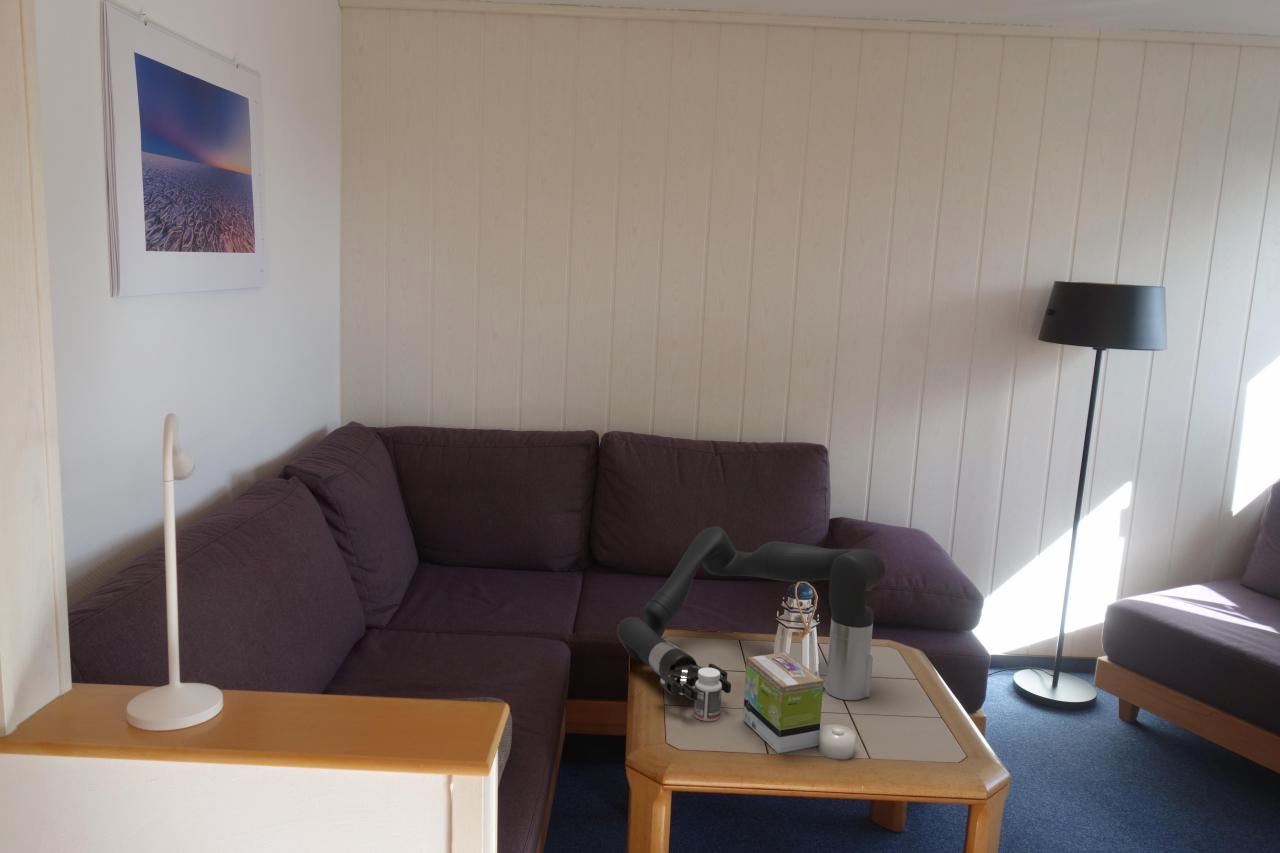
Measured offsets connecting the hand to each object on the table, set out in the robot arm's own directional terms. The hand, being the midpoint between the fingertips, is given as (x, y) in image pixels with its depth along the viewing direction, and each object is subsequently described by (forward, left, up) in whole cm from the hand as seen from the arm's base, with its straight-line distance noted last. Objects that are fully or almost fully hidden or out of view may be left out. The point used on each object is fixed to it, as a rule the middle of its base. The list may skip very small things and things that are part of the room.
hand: (712, 692), depth 209 cm
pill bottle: (+1, -2, -6) cm, 6 cm away
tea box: (-13, +6, -6) cm, 16 cm away
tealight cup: (-23, +13, -6) cm, 28 cm away
